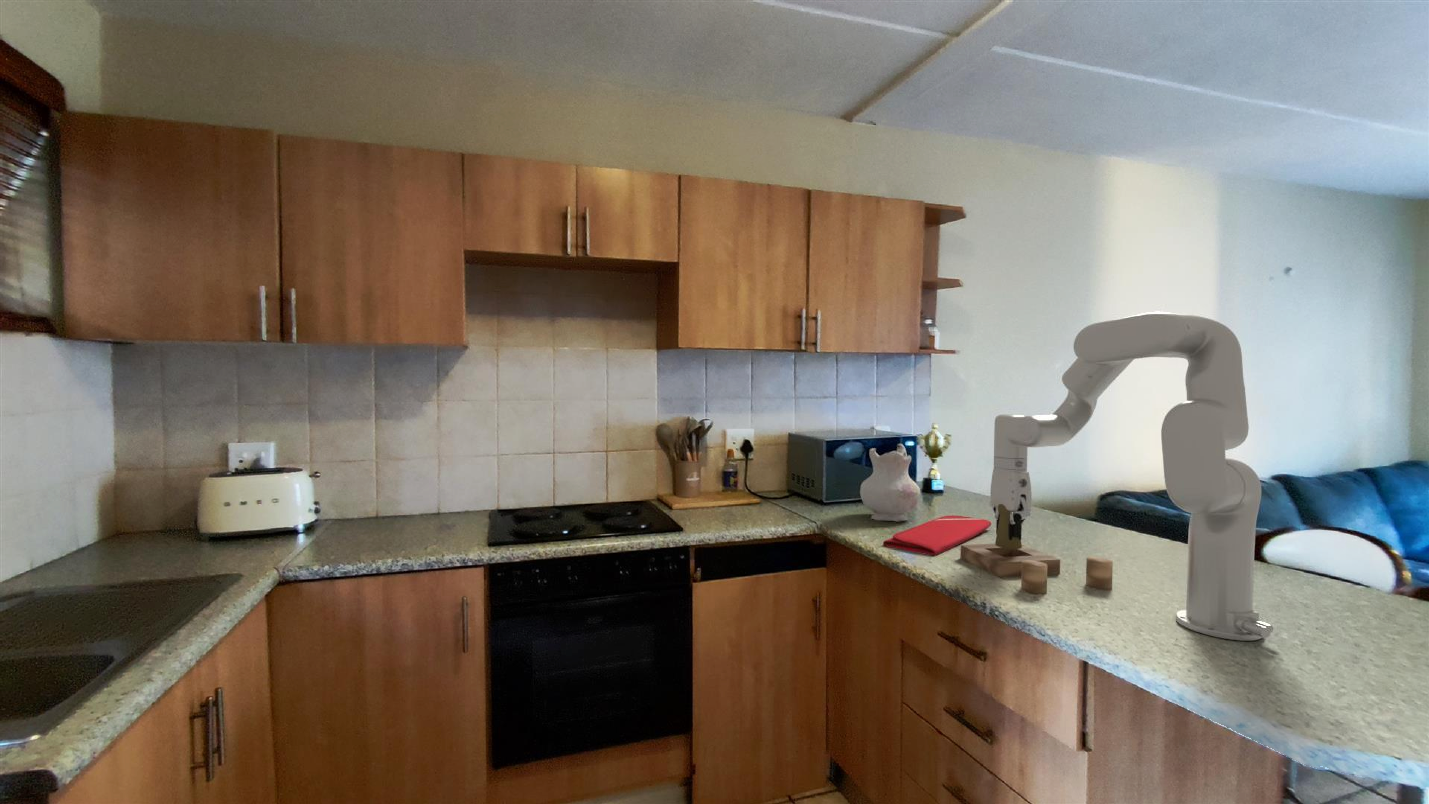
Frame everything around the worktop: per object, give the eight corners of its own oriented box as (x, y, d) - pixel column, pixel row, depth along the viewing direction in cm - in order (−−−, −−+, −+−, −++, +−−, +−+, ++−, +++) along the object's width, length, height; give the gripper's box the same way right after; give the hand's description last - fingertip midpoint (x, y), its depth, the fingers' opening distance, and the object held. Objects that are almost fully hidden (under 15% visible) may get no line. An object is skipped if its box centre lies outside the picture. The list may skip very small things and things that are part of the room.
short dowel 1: (1052, 593, 133) (1052, 566, 133) (1031, 595, 132) (1032, 567, 132) (1035, 586, 138) (1036, 559, 138) (1016, 587, 137) (1016, 560, 137)
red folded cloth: (881, 547, 173) (881, 534, 173) (943, 523, 202) (943, 512, 202) (935, 558, 162) (936, 544, 162) (992, 532, 191) (993, 520, 191)
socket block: (1059, 573, 147) (1060, 559, 147) (999, 577, 144) (1000, 562, 144) (1015, 555, 163) (1015, 542, 163) (960, 558, 160) (960, 545, 160)
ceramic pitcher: (870, 512, 223) (865, 443, 223) (926, 513, 214) (921, 441, 214) (856, 524, 203) (851, 449, 203) (917, 526, 195) (912, 447, 195)
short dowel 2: (1117, 589, 136) (1118, 562, 136) (1098, 590, 135) (1098, 563, 135) (1099, 582, 141) (1100, 556, 141) (1080, 583, 140) (1081, 557, 140)
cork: (1025, 549, 150) (1026, 504, 149) (998, 548, 151) (999, 503, 151) (1018, 543, 156) (1019, 500, 155) (992, 542, 157) (993, 499, 157)
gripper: (1047, 468, 145) (1045, 545, 146) (1002, 459, 162) (1000, 529, 162) (1019, 469, 144) (1017, 547, 144) (976, 460, 160) (974, 530, 161)
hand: (1008, 536), depth 153 cm, fingers closed on cork, 3 cm apart
